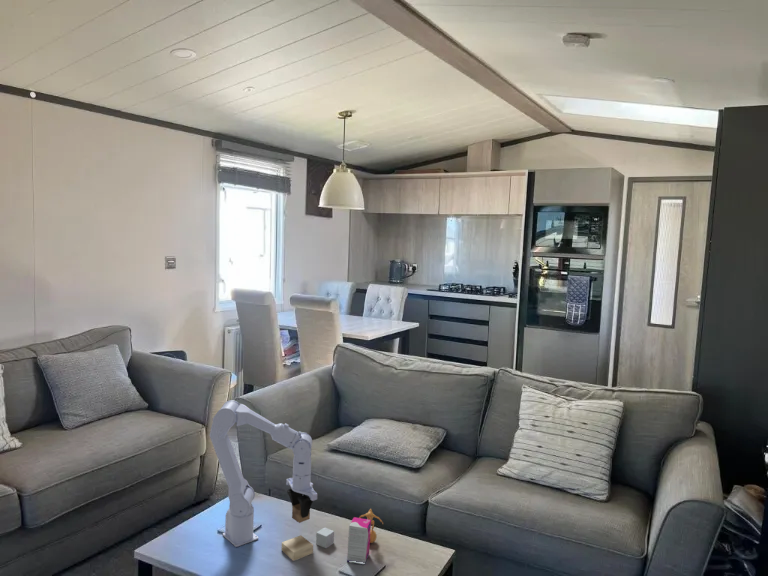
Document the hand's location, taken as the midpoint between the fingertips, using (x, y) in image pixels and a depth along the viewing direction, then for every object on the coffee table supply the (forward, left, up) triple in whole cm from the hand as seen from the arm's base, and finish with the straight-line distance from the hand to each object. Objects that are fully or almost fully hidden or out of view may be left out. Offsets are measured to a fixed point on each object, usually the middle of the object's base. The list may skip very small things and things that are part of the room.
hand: (300, 513), depth 177 cm
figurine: (+16, +16, -9) cm, 24 cm away
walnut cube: (0, 0, -2) cm, 2 cm away
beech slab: (+6, -5, -9) cm, 11 cm away
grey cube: (+7, +5, -8) cm, 12 cm away
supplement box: (+20, +8, -9) cm, 23 cm away
